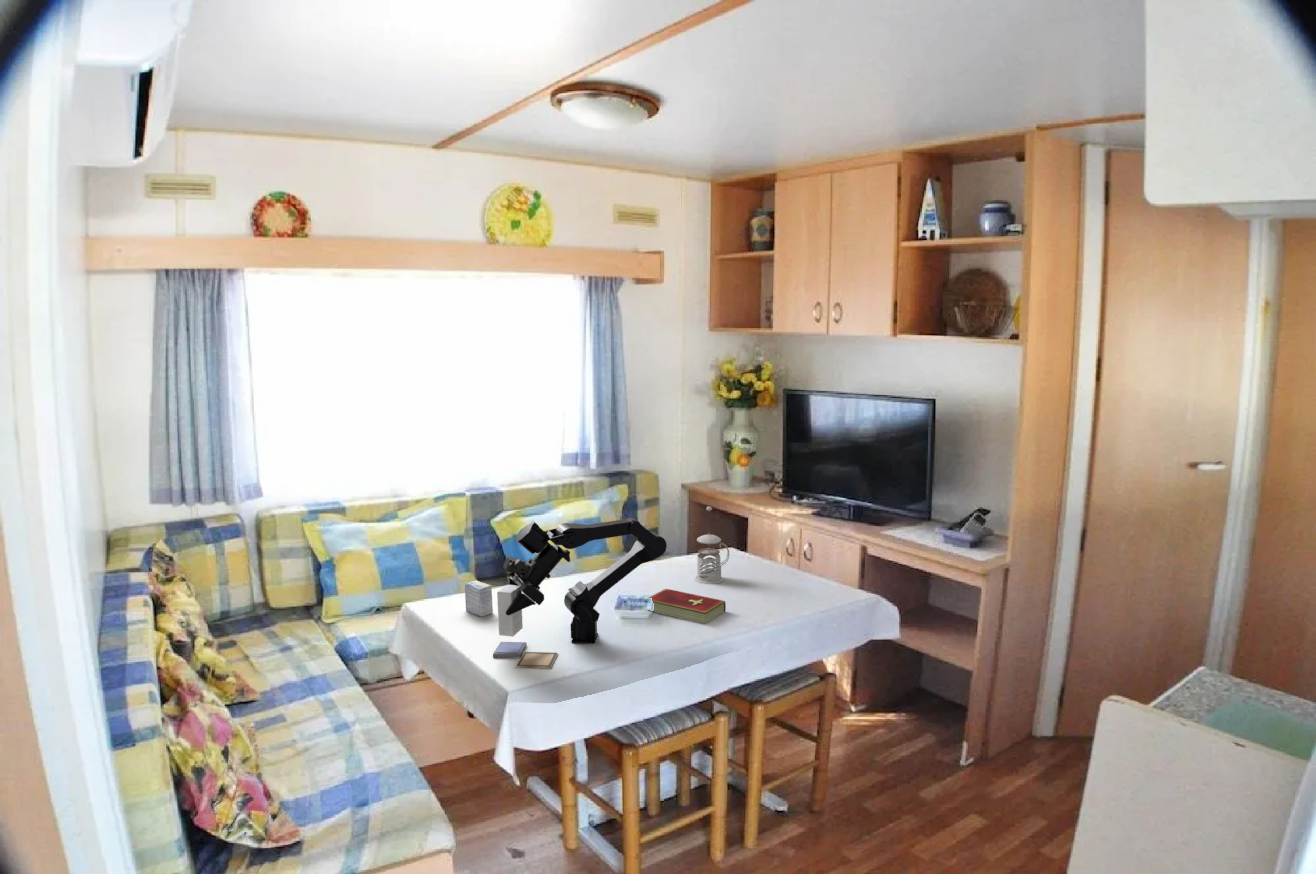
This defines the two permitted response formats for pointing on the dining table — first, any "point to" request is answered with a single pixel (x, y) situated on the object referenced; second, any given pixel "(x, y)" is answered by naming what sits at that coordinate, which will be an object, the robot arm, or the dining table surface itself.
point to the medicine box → (478, 598)
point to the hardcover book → (687, 605)
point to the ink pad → (510, 649)
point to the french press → (709, 560)
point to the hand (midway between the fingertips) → (503, 609)
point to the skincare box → (505, 598)
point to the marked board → (537, 660)
